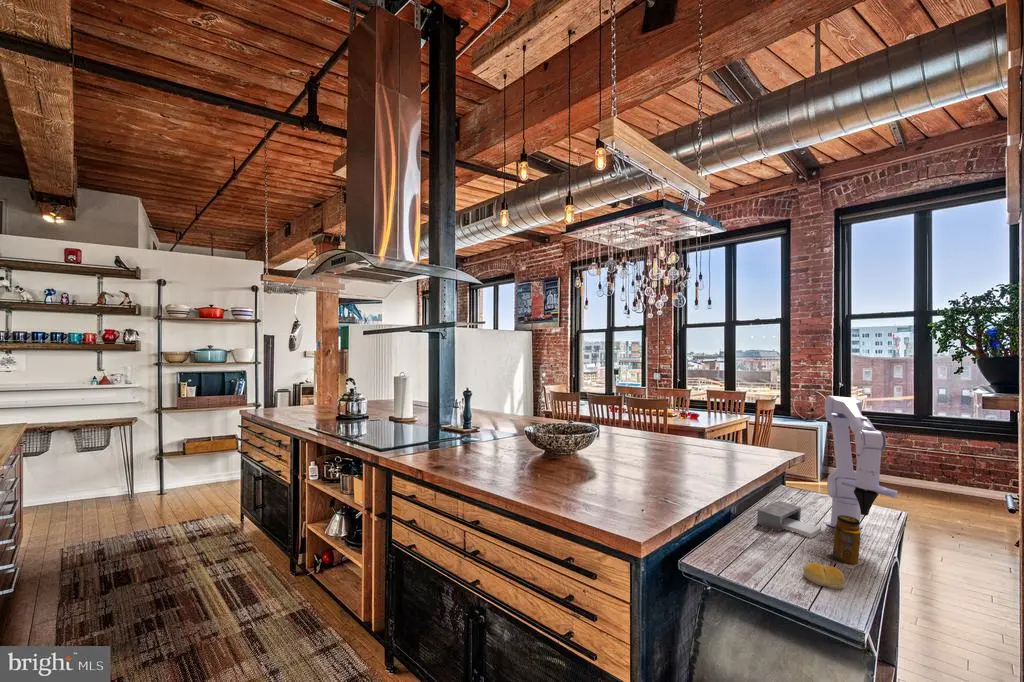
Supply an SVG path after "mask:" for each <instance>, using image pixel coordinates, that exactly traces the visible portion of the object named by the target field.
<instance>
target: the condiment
mask: <svg viewBox="0 0 1024 682" xmlns="http://www.w3.org/2000/svg"><path fill="white" fill-rule="evenodd" d="M859 524H860V525H861V521H860V522H859V520H857V519H856V518H853V517H850V516H844V515H839V516H838V517H837V524H836V525H835V527H834V532H833V533H834V535H833V546H832V552H831V553H828V554H826V555H823V556H822V558H824V559H826V560H827V561H830V562H831V563H835V564H836V565H839V566H843V567H845V568H848V569H851V570H852V569H854V568H855V567H856V568H857V567H858V566H860V565H862V564H864V563H865V561H863V560H861V559H859V558H860V544H861V534H862V532H861V530H860V529H859V528H860V526H859Z"/></svg>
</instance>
